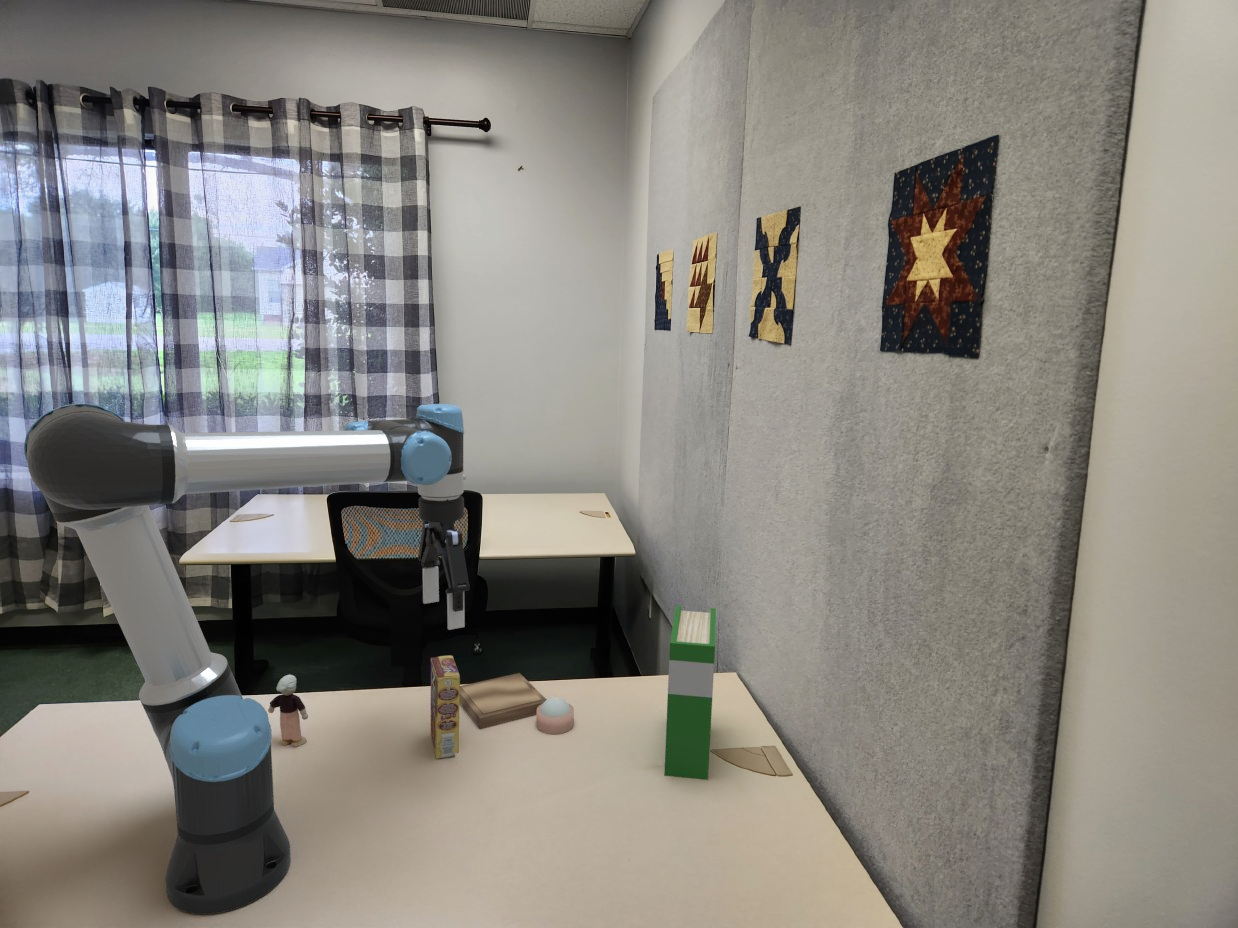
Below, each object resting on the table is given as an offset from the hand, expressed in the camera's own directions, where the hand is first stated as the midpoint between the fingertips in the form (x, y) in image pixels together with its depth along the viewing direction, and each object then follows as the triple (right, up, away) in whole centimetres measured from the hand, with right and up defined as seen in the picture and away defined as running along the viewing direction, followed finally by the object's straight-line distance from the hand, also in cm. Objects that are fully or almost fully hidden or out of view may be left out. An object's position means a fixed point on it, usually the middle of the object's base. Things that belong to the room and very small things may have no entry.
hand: (443, 614), depth 134 cm
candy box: (-1, -25, +4) cm, 25 cm away
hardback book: (+43, -26, +5) cm, 51 cm away
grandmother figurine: (-28, -24, +4) cm, 37 cm away
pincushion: (+19, -23, +11) cm, 32 cm away
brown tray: (+7, -22, +18) cm, 30 cm away
